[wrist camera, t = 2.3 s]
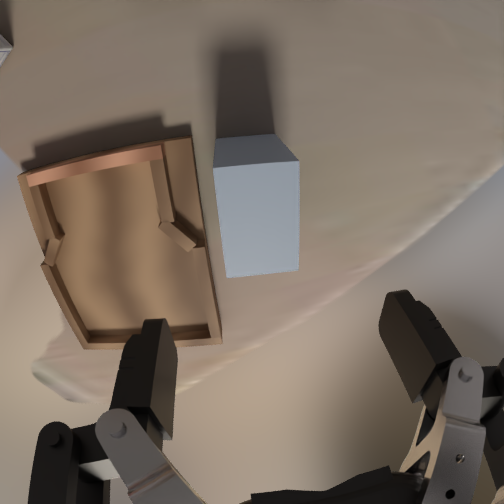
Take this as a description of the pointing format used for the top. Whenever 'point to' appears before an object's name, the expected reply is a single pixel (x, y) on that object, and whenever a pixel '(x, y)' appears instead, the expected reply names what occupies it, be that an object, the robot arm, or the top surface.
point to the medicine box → (4, 49)
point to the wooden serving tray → (126, 243)
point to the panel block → (257, 204)
